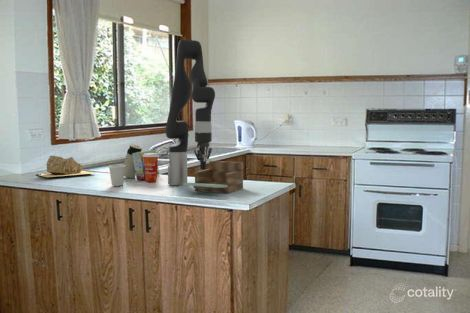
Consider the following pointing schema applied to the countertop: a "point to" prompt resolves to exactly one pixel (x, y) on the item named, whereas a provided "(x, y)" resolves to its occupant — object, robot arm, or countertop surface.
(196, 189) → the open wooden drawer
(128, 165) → the travel mug
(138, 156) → the snack box
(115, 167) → the dixie cup
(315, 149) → the countertop surface
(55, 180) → the countertop surface
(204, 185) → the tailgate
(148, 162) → the coffee cup
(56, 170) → the bread loaf on board
